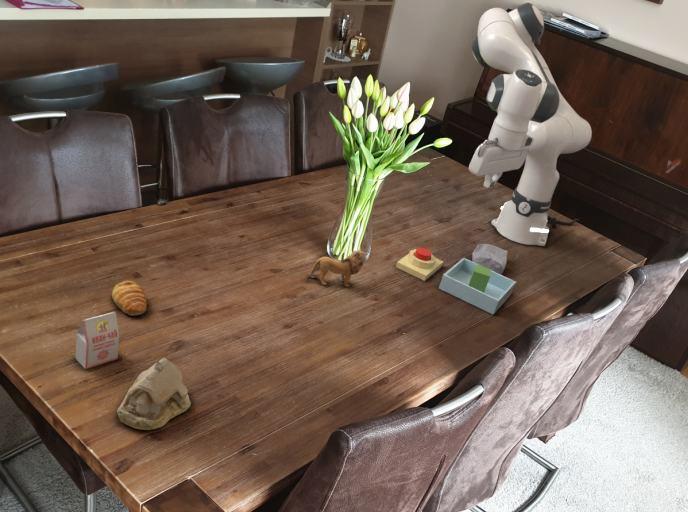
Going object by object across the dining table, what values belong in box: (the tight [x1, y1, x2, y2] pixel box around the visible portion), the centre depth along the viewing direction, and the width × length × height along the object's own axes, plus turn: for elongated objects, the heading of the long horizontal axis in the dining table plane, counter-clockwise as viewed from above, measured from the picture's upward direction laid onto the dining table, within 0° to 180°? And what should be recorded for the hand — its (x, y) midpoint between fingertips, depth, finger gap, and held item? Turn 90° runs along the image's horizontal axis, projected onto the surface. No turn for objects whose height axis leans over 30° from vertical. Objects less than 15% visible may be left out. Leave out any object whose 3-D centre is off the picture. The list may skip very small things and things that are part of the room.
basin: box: [438, 257, 517, 315], centre depth 204 cm, size 15×16×4 cm
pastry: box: [111, 280, 148, 317], centre depth 162 cm, size 9×7×4 cm
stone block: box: [471, 243, 508, 275], centre depth 221 cm, size 12×5×10 cm
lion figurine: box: [305, 249, 367, 288], centre depth 189 cm, size 15×5×9 cm, turn 111°
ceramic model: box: [116, 357, 192, 431], centre depth 136 cm, size 14×11×10 cm
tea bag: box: [75, 311, 120, 370], centre depth 143 cm, size 4×7×10 cm, turn 135°
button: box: [415, 247, 433, 261], centre depth 207 cm, size 4×4×2 cm
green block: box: [468, 264, 492, 293], centre depth 203 cm, size 4×4×6 cm
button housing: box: [395, 248, 444, 282], centre depth 208 cm, size 12×9×4 cm
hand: (488, 186), depth 201 cm, fingers closed
